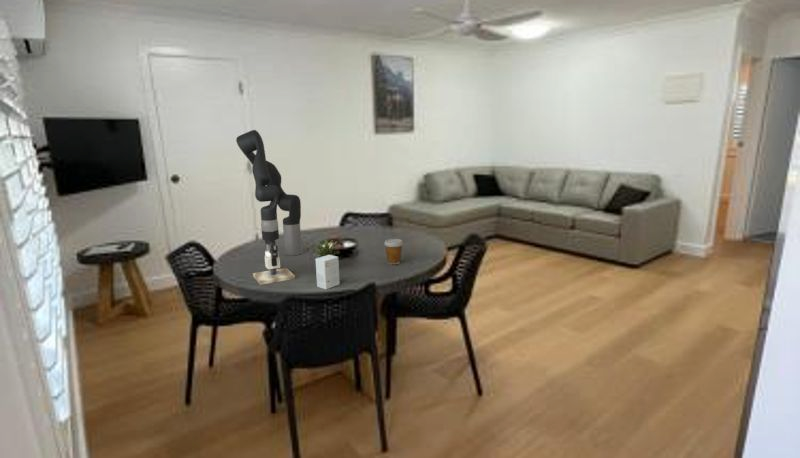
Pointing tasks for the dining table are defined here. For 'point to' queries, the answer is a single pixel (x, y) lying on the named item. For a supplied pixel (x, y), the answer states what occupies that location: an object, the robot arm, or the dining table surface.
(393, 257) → the disposable coffee cup
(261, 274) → the dial board
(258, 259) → the dining table surface
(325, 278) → the small box
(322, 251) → the house plant
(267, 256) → the knob
